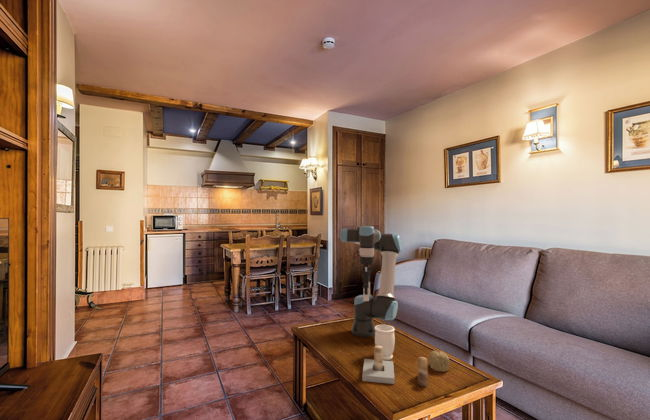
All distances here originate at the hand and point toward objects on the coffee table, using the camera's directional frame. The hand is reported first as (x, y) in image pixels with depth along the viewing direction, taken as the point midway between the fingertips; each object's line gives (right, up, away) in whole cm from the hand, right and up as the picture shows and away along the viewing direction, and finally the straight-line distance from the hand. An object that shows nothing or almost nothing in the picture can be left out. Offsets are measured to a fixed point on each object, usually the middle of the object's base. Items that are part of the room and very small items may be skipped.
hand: (366, 297), depth 157 cm
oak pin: (+23, -31, -17) cm, 43 cm away
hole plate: (+3, -31, -15) cm, 35 cm away
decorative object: (+34, -32, -9) cm, 47 cm away
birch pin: (+3, -31, -15) cm, 35 cm away
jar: (+10, -32, +2) cm, 34 cm away
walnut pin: (+21, -31, -24) cm, 45 cm away
